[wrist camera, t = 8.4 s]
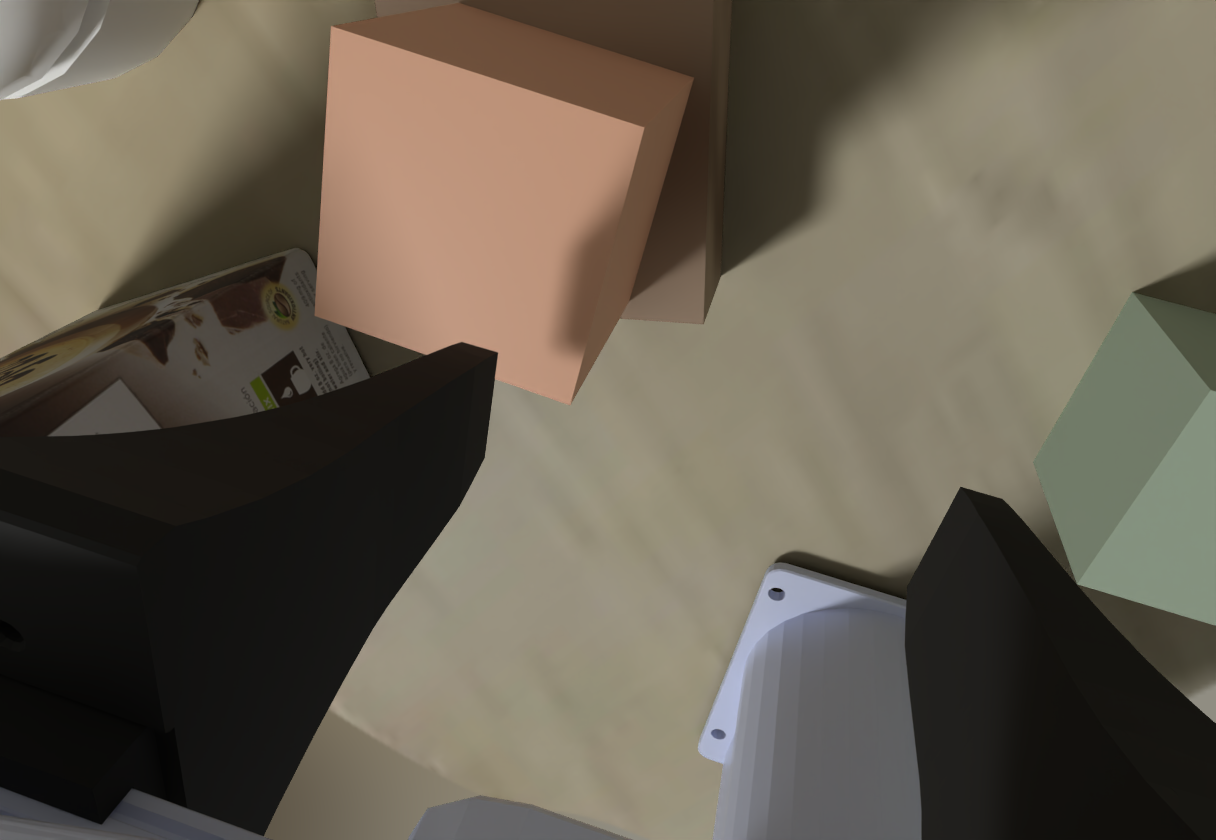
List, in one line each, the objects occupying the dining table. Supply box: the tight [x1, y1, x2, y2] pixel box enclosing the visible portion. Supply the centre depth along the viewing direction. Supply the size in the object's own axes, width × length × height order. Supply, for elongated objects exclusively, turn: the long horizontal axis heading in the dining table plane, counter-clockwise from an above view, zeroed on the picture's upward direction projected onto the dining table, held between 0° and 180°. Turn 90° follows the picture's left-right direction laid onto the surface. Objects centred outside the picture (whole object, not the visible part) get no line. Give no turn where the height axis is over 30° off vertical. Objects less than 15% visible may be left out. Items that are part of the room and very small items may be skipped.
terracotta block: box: [314, 3, 694, 405], centre depth 16 cm, size 5×5×5 cm
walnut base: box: [375, 0, 732, 324], centre depth 19 cm, size 7×7×4 cm
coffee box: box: [0, 248, 370, 437], centre depth 20 cm, size 9×6×16 cm
